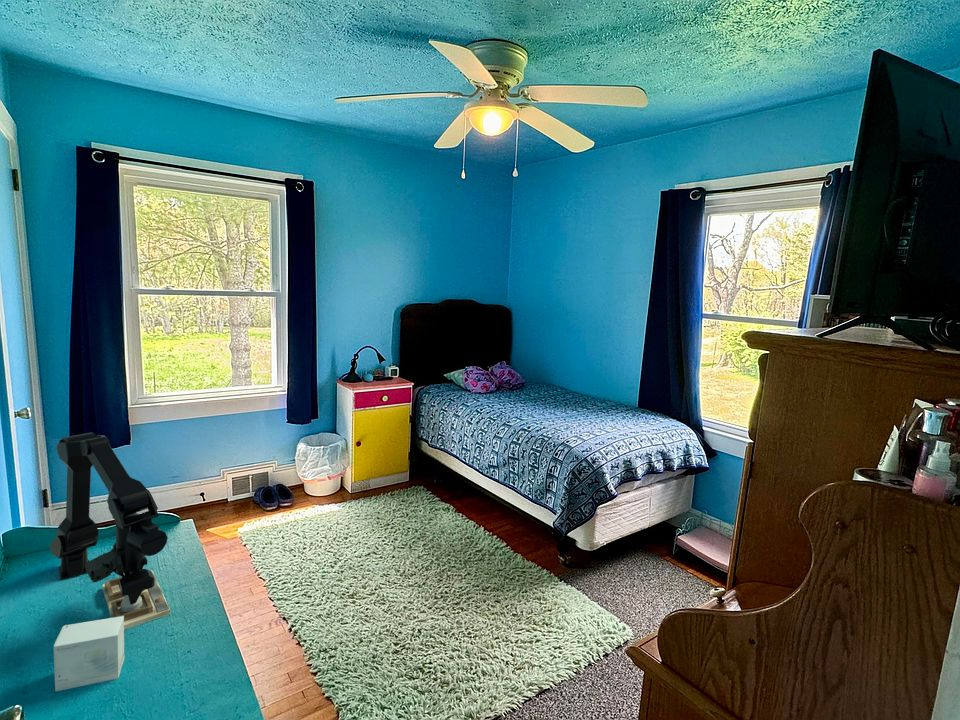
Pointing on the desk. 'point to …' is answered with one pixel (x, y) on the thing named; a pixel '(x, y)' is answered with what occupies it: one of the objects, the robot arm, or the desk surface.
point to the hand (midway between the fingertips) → (131, 599)
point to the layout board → (149, 610)
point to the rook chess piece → (130, 607)
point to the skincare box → (89, 653)
